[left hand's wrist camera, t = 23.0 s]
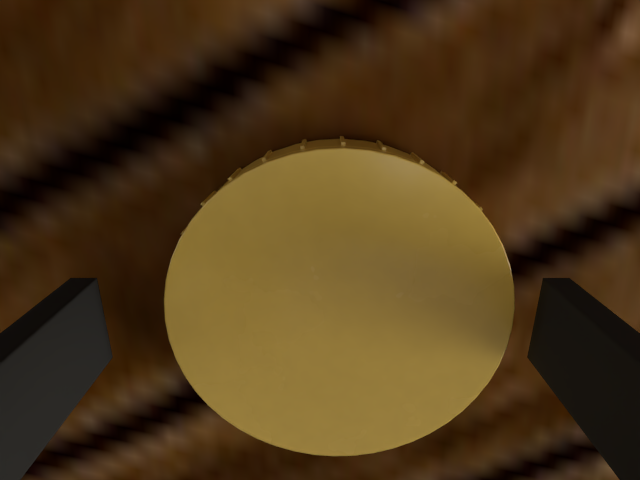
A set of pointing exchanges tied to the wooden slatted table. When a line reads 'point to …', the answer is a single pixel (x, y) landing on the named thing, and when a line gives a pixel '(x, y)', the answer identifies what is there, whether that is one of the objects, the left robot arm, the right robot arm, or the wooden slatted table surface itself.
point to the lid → (339, 298)
